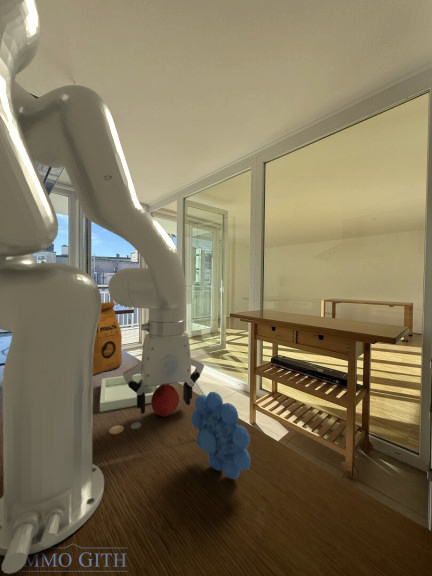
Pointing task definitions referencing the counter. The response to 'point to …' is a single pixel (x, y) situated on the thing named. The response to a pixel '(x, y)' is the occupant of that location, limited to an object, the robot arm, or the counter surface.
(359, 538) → the counter surface
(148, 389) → the ball
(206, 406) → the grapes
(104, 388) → the dish
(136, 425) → the tile
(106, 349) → the coffee package
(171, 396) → the onion
